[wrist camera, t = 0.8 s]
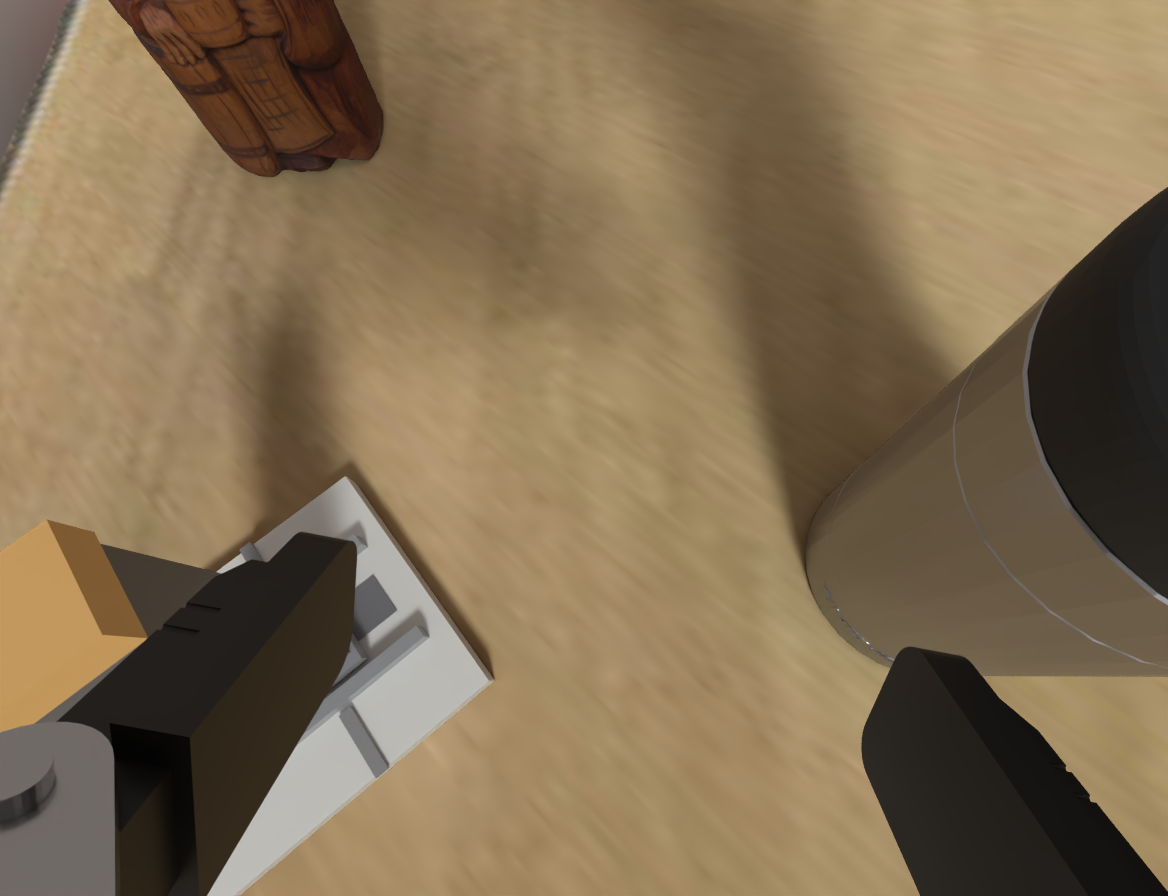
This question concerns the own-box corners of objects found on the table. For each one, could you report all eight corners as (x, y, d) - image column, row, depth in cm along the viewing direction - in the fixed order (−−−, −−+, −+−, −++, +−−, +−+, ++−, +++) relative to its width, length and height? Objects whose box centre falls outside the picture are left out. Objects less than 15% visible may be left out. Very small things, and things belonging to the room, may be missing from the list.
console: (351, 477, 32) (334, 464, 30) (500, 688, 28) (490, 688, 26) (-164, 860, 27) (-223, 873, 25) (-76, 1174, 23) (-137, 1218, 21)
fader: (323, 586, 28) (45, 507, 15) (368, 658, 27) (111, 642, 14) (246, 644, 28) (-113, 617, 14) (290, 721, 26) (-60, 769, 13)
